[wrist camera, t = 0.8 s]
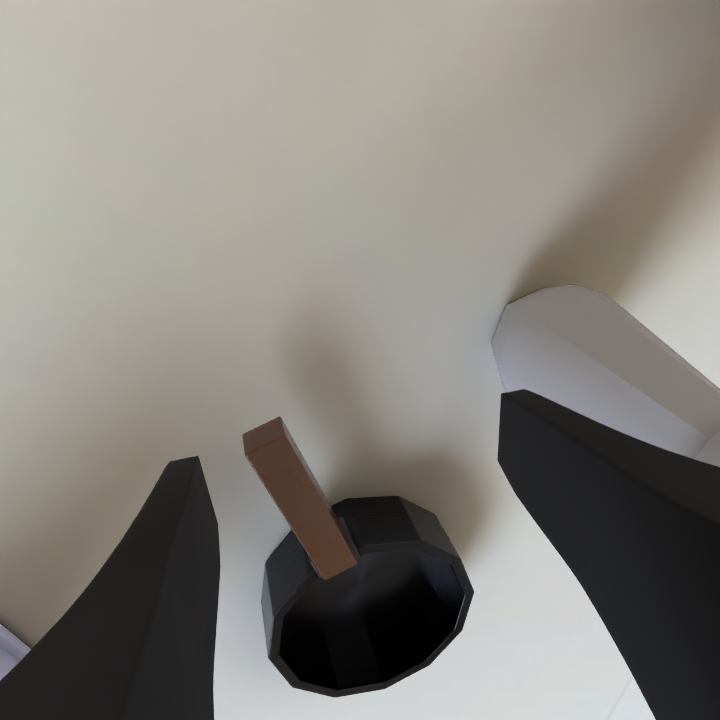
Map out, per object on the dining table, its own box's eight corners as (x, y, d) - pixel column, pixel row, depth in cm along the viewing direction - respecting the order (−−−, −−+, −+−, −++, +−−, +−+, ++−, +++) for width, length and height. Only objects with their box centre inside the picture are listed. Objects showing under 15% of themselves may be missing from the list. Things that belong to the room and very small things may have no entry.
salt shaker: (607, 322, 25) (936, 492, 14) (523, 407, 26) (769, 634, 15) (542, 244, 23) (885, 377, 11) (450, 342, 23) (684, 558, 12)
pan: (464, 585, 31) (496, 642, 27) (309, 666, 30) (323, 735, 27) (362, 343, 22) (390, 383, 19) (143, 447, 22) (133, 508, 18)
